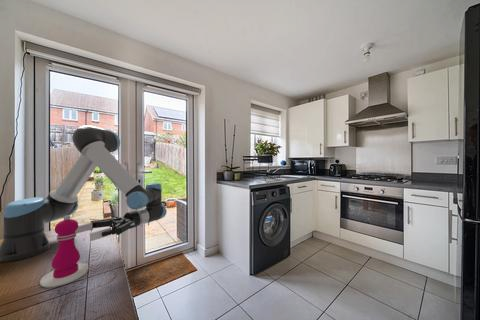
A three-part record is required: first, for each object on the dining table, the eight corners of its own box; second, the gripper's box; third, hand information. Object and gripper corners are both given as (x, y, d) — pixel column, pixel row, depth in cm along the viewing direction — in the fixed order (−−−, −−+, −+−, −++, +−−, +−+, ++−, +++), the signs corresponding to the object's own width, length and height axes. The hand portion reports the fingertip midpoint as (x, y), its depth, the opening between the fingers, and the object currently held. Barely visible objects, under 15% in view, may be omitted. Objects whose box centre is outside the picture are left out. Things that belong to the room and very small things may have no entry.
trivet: (33, 281, 60) (33, 278, 60) (78, 263, 71) (78, 260, 71) (49, 292, 55) (49, 288, 55) (95, 271, 66) (95, 268, 66)
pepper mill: (54, 282, 58) (56, 219, 59) (48, 275, 62) (49, 216, 62) (83, 270, 64) (84, 214, 65) (75, 264, 68) (76, 211, 69)
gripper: (153, 230, 80) (99, 251, 61) (120, 222, 91) (64, 238, 72) (153, 213, 80) (99, 228, 61) (120, 207, 91) (65, 219, 72)
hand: (80, 234), depth 67 cm, fingers open, 13 cm apart
